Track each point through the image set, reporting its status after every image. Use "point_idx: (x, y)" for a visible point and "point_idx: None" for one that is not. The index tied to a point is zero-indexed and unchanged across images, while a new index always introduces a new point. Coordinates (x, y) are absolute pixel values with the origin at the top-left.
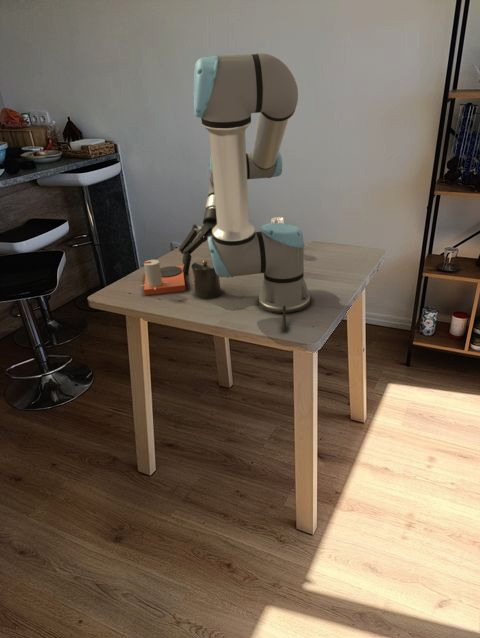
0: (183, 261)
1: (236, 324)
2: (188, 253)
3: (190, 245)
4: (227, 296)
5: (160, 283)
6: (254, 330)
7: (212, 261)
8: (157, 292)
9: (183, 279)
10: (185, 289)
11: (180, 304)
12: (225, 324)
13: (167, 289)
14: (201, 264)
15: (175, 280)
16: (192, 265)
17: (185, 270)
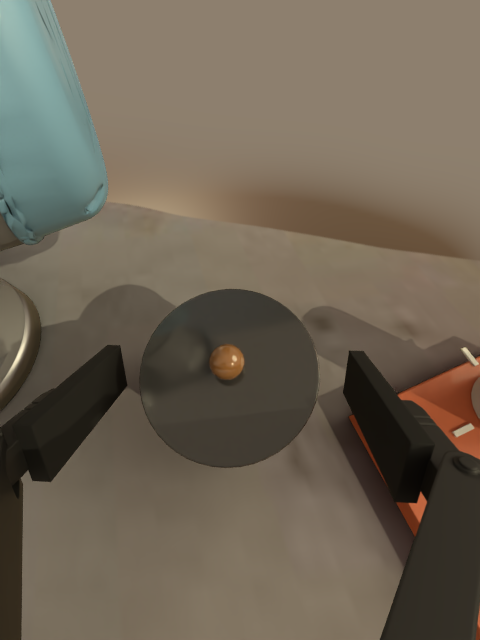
0: (409, 406)
1: (111, 221)
2: (406, 437)
3: (459, 530)
4: None
5: (477, 394)
6: None
7: (190, 433)
8: (452, 368)
9: None
10: (350, 416)
11: (308, 300)
12: (139, 218)
13: (420, 383)
14: (254, 370)
15: None
16: (307, 346)
17: (351, 358)
